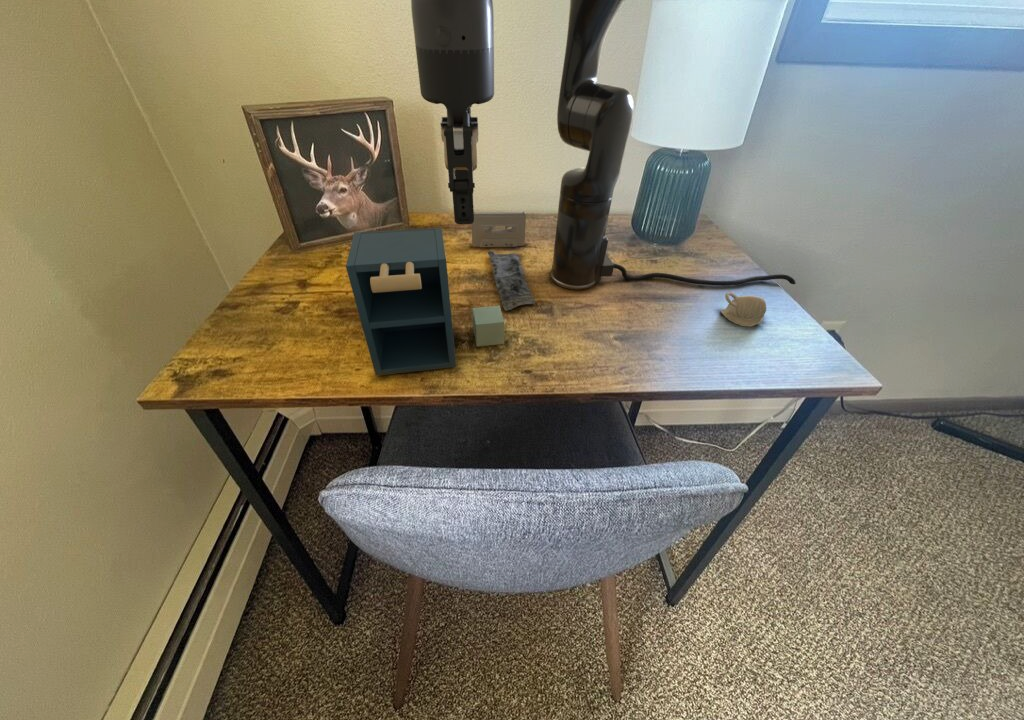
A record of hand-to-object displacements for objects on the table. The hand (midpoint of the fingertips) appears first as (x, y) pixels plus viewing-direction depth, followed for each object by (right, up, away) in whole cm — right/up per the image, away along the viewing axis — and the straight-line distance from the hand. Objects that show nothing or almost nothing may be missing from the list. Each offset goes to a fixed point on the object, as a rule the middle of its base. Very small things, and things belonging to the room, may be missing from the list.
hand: (464, 207), depth 50 cm
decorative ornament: (+47, -11, +24) cm, 54 cm away
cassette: (+3, +7, +43) cm, 43 cm away
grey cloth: (+6, -3, +32) cm, 33 cm away
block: (+2, -15, +19) cm, 24 cm away
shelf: (-10, -7, +13) cm, 18 cm away
